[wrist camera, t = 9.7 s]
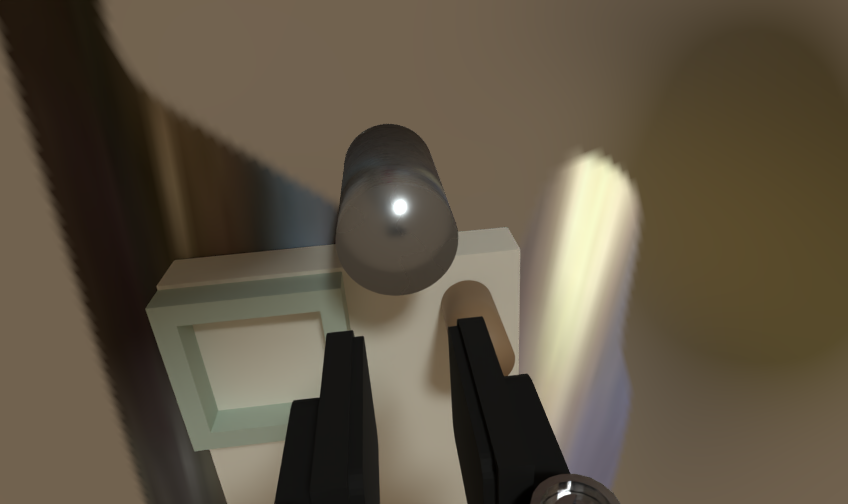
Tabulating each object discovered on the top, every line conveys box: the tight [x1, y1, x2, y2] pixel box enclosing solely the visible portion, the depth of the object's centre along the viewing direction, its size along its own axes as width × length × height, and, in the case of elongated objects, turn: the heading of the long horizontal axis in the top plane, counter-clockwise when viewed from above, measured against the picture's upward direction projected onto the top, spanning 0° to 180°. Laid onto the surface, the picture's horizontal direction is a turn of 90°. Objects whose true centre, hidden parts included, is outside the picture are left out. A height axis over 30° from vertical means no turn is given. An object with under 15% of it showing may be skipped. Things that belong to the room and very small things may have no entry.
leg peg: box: [335, 124, 458, 296], centre depth 22 cm, size 4×4×8 cm
